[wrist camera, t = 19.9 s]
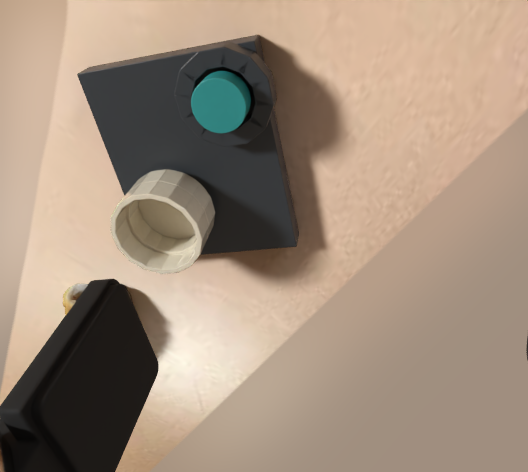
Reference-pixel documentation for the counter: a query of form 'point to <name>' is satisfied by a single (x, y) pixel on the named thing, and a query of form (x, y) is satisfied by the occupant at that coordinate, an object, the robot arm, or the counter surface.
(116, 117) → the dark grey flat block
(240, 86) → the button
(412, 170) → the counter surface
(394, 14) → the counter surface
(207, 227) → the bowl
